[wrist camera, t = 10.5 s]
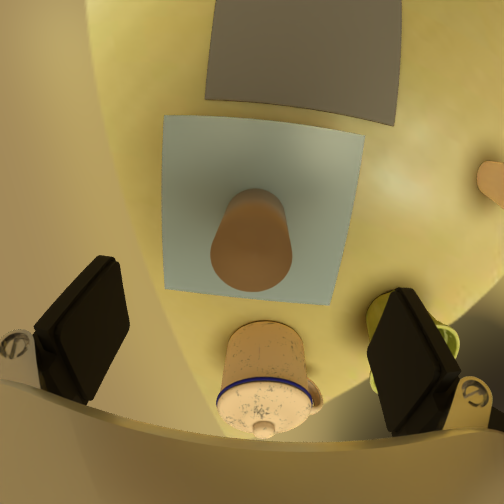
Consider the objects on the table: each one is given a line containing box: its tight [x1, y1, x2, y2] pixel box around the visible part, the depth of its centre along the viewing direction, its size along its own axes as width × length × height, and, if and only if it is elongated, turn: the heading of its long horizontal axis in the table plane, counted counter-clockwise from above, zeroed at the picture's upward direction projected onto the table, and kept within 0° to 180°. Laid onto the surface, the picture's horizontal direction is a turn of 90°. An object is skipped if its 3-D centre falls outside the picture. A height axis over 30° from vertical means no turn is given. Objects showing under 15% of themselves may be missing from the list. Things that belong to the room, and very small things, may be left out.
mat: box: [205, 0, 402, 126], centre depth 18 cm, size 16×16×1 cm
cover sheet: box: [162, 115, 365, 305], centre depth 17 cm, size 13×13×7 cm
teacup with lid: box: [216, 321, 323, 439], centre depth 28 cm, size 12×9×12 cm
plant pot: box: [366, 290, 460, 394], centre depth 26 cm, size 9×9×9 cm
